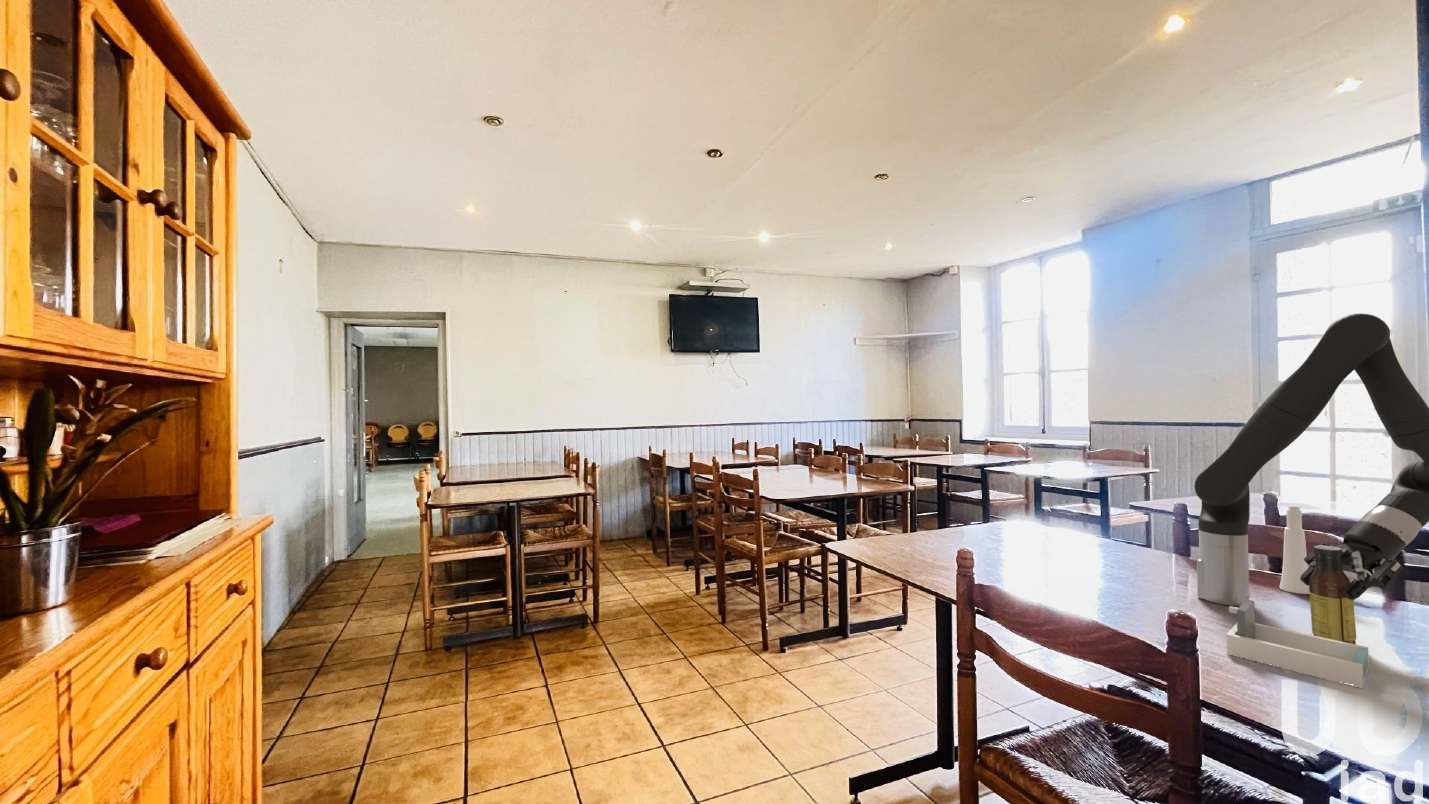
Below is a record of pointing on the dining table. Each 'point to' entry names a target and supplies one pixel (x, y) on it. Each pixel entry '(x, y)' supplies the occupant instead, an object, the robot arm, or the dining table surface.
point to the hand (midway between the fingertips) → (1325, 589)
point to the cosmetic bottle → (1294, 553)
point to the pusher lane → (1302, 653)
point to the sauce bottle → (1331, 597)
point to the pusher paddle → (1245, 619)
